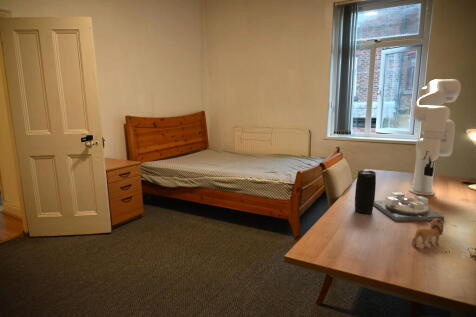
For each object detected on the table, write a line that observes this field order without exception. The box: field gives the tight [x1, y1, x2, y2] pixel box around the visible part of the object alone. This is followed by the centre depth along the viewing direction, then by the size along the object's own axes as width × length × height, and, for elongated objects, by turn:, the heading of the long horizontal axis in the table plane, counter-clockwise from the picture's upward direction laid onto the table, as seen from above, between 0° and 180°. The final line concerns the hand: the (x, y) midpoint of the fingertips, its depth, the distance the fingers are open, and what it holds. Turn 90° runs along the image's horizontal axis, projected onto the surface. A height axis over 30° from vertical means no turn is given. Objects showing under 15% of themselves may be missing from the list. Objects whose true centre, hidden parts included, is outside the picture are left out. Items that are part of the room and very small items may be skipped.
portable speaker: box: [354, 170, 377, 215], centre depth 144 cm, size 9×9×20 cm
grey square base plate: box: [373, 200, 445, 222], centre depth 146 cm, size 22×22×2 cm
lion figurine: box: [411, 218, 444, 248], centre depth 113 cm, size 15×5×9 cm, turn 119°
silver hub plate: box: [384, 191, 430, 215], centre depth 145 cm, size 18×18×5 cm
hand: (428, 175), depth 138 cm, fingers closed
